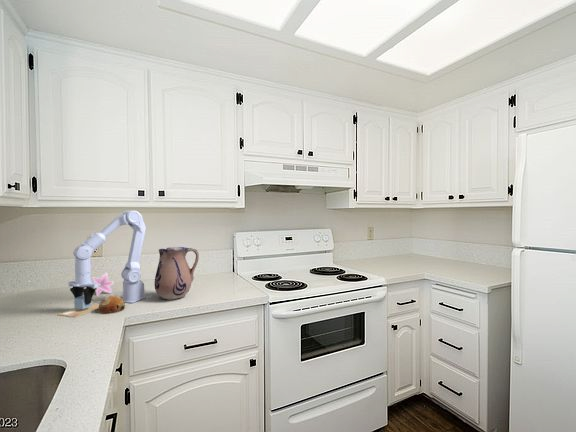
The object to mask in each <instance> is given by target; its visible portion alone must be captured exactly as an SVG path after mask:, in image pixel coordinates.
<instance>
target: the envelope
mask: <svg viewBox="0 0 576 432" xmlns="http://www.w3.org/2000/svg"><path fill="white" fill-rule="evenodd" d="M99 305H100V303H96V302H92V306H90V307H88V308H85V309H75V307H74V308H70V309H68V310H66V311H63V312H61V313H57V314H56V316H62V317H69V318H70V317H71V318H77V317H81V316H83V315H85V314H88V313H92V312H94V311H97V310H99Z"/></svg>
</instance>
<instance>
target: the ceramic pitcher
mask: <svg viewBox="0 0 576 432" xmlns="http://www.w3.org/2000/svg"><path fill="white" fill-rule="evenodd" d="M158 252H159V260H158V265H157V268H156V272H155V276H154V284H153V285H154V289H155V292H156V293H157V295H158V296H159V297H161V299H164V300H168V301H169V300H170V301H171V300H172V301H173V300H177V299H180V298H184V297H185V295H187V294H188V293H189V292H190V290H191V287H192V283H193V282H194V278H195V277H194V272H195V270H196V267H197V265H198V262H199V259H200V258H199V256H200V255H199V254H200V253H199V252H198V250H197V249H196V248H194V247H184V246H171V247H166V248H160V249H159V248H158ZM189 252H193V253H194V254H195V260H194V263H193V265H192V267H191V268H190V266H189V263H188V262H187V259H186V256H187V254H188V253H189Z"/></svg>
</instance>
